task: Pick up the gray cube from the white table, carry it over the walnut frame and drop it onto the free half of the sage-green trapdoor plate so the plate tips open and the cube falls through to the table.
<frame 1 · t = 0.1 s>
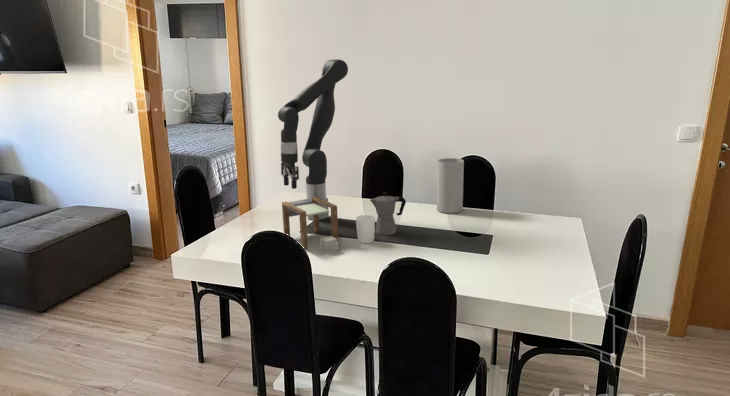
hand: (290, 186, 236), 17 cm above the table, tool pointing down, fingers open, 8 cm apart
trapdoor: (306, 211, 216), point 12 cm above the table, hinge at 0.0°
cylinder vase: (449, 210, 254), on the table
gray cube: (328, 250, 204), on the table
white cup: (366, 241, 214), on the table
frame: (310, 239, 217), on the table
coffeepot: (388, 232, 224), on the table
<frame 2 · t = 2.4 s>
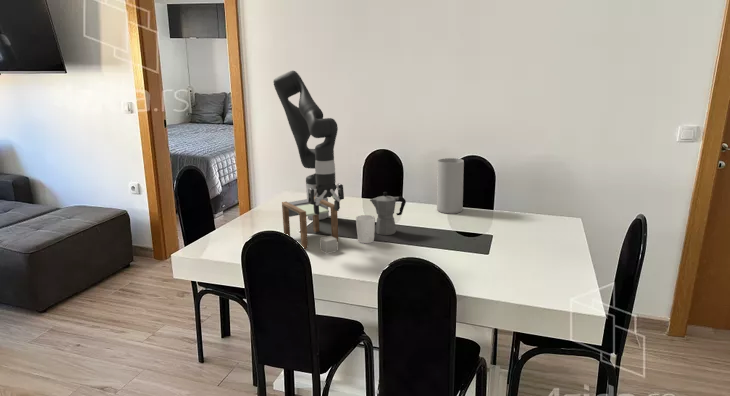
hand: (327, 212, 200), 16 cm above the table, tool pointing down, fingers open, 8 cm apart
nothing on the table moved.
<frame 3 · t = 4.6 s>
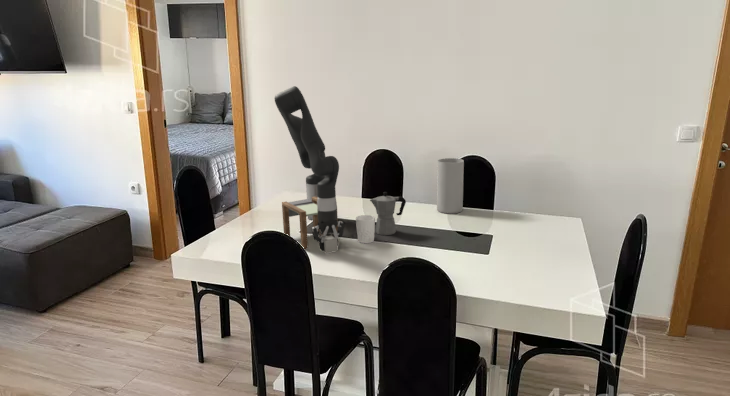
hand: (328, 249, 204), 0 cm above the table, tool pointing down, fingers closed on gray cube, 5 cm apart
gray cube: (329, 250, 204), on the table, touching gripper
everything else where it was.
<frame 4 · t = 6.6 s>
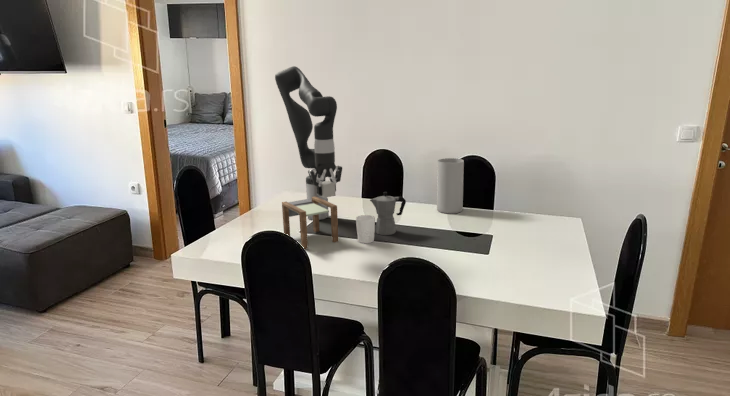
hand: (326, 194, 198), 23 cm above the table, tool pointing down, fingers closed on gray cube, 5 cm apart
gray cube: (326, 195, 198), point 22 cm above the table, touching gripper
everything else where it was.
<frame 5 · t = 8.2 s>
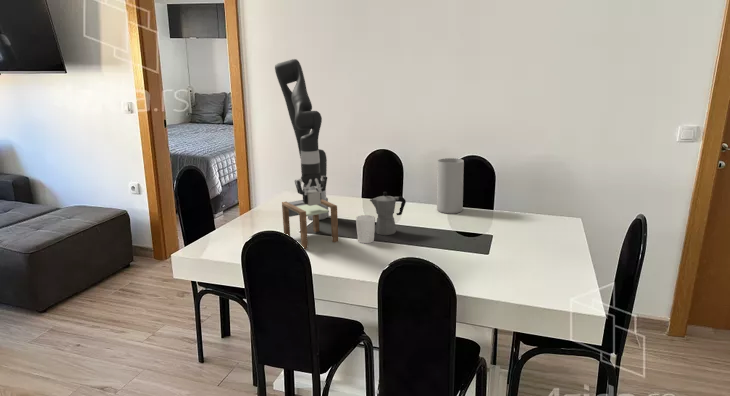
hand: (312, 202, 210), 17 cm above the table, tool pointing down, fingers closed on gray cube, 5 cm apart
gray cube: (312, 203, 210), point 16 cm above the table, touching gripper
everything else where it was.
when the fingers open (17 cm above the table, at t = 8.9 s): gray cube drops 14 cm and tips over, point 2 cm above the table.
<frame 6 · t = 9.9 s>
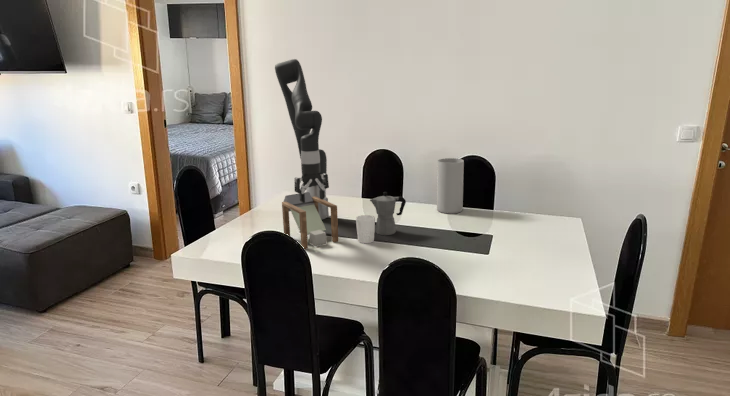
hand: (312, 200, 209), 18 cm above the table, tool pointing down, fingers open, 8 cm apart
trapdoor: (304, 215, 219), point 9 cm above the table, hinge at -41.1°
gray cube: (315, 236, 213), point 2 cm above the table, tilted 90°
everything else where it was.
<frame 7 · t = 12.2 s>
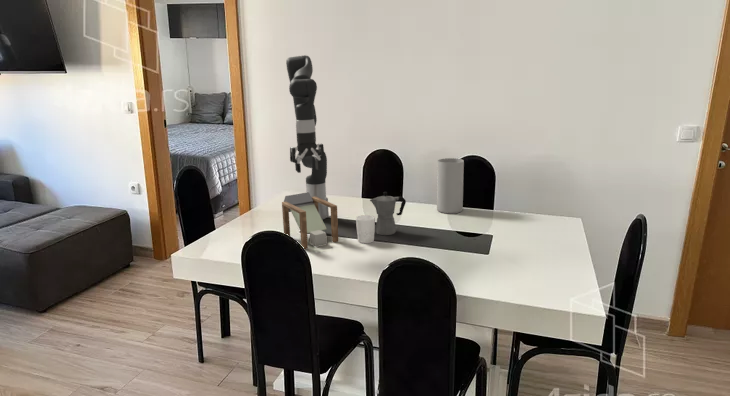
hand: (308, 170, 208), 30 cm above the table, tool pointing down, fingers open, 8 cm apart
trapdoor: (304, 215, 218), point 9 cm above the table, hinge at -37.9°, touching gray cube
gray cube: (315, 236, 213), point 2 cm above the table, tilted 90°, touching trapdoor
everything else where it was.
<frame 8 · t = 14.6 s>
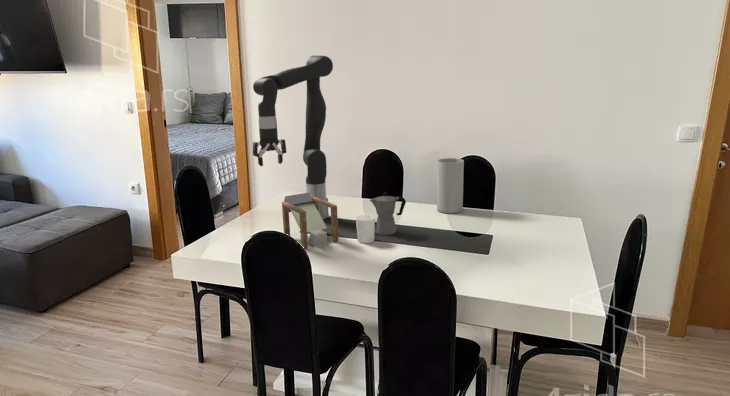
hand: (270, 164, 221), 30 cm above the table, tool pointing down, fingers open, 8 cm apart
trapdoor: (304, 215, 218), point 9 cm above the table, hinge at -35.7°
gray cube: (315, 236, 212), point 3 cm above the table, tilted 92°
everything else where it was.
at the end: gray cube point 2.7 cm above the table; gray cube inside the target area (1.5 cm from its centre), point 2.7 cm above the table; the gripper is holding nothing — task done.
